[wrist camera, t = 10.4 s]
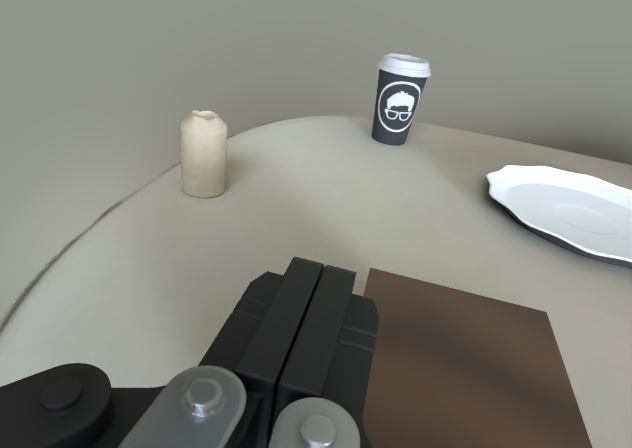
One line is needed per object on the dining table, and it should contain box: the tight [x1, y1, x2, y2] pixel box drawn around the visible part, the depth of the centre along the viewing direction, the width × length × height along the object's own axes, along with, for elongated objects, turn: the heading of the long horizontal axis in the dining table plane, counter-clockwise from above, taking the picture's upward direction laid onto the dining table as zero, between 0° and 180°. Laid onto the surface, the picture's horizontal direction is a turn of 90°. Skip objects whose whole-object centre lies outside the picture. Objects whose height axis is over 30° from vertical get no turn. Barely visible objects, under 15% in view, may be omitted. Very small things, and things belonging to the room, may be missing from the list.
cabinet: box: [363, 268, 592, 448], centre depth 25 cm, size 14×12×10 cm
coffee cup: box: [372, 53, 431, 145], centre depth 80 cm, size 10×10×15 cm
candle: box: [180, 110, 227, 198], centre depth 54 cm, size 6×6×10 cm
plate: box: [485, 165, 632, 267], centre depth 63 cm, size 29×29×2 cm
